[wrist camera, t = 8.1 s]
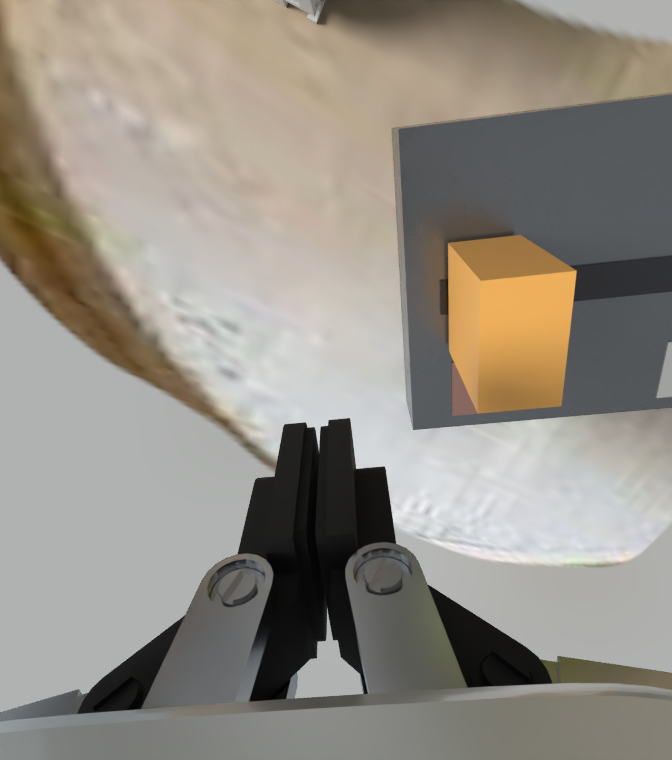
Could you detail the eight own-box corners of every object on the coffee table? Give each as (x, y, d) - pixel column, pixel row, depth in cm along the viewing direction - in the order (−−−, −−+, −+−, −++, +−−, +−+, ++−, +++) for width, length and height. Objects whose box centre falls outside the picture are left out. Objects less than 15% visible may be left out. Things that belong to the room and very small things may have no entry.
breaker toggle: (520, 234, 21) (576, 270, 16) (514, 344, 23) (561, 406, 18) (448, 242, 21) (480, 280, 16) (448, 350, 23) (477, 413, 18)
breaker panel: (822, 73, 21) (895, 66, 18) (735, 371, 27) (779, 399, 24) (391, 127, 22) (398, 128, 19) (406, 400, 28) (413, 431, 25)
